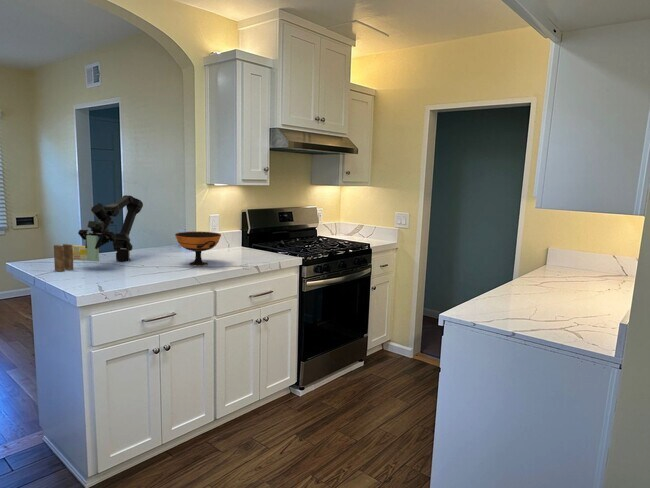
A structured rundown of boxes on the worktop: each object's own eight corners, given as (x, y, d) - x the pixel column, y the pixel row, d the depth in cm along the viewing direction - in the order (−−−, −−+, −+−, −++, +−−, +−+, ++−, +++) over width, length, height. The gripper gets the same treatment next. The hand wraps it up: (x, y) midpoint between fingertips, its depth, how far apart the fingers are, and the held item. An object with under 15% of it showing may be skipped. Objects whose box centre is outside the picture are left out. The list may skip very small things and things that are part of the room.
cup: (165, 260, 268) (165, 231, 266) (206, 257, 284) (206, 229, 281) (188, 272, 240) (188, 239, 238) (232, 268, 256) (232, 237, 253)
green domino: (89, 259, 236) (88, 235, 235) (98, 260, 236) (97, 235, 234) (87, 260, 235) (86, 235, 233) (96, 261, 234) (95, 236, 232)
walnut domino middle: (67, 268, 237) (66, 243, 235) (73, 269, 235) (72, 244, 233) (63, 268, 235) (62, 244, 234) (69, 270, 233) (68, 245, 231)
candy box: (99, 260, 261) (99, 246, 260) (97, 261, 259) (96, 247, 257) (73, 258, 262) (72, 244, 261) (70, 259, 260) (70, 245, 259)
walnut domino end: (58, 269, 233) (57, 244, 231) (64, 271, 231) (63, 245, 229) (54, 270, 231) (53, 245, 230) (60, 271, 229) (59, 246, 227)
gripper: (79, 214, 237) (66, 237, 227) (113, 216, 235) (100, 240, 225) (89, 227, 246) (76, 250, 236) (121, 229, 243) (110, 253, 234)
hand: (90, 248), depth 233 cm, fingers closed on green domino, 5 cm apart
